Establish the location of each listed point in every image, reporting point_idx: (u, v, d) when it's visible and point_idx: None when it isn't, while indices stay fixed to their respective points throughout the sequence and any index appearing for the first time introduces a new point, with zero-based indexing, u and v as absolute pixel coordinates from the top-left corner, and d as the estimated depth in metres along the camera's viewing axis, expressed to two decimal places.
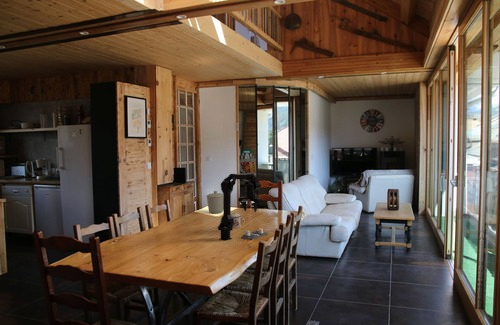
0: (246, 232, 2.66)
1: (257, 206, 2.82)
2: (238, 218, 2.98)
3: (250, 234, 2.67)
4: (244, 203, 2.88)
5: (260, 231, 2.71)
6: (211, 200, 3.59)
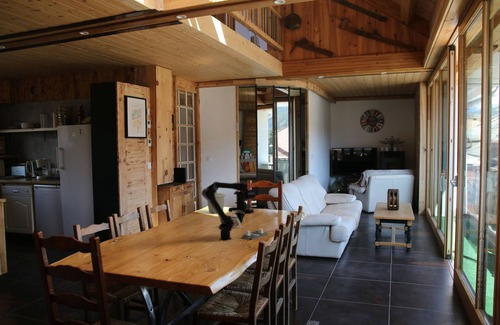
0: (246, 232, 2.66)
1: (243, 216, 2.69)
2: None
3: (250, 234, 2.67)
4: None
5: (260, 231, 2.71)
6: None
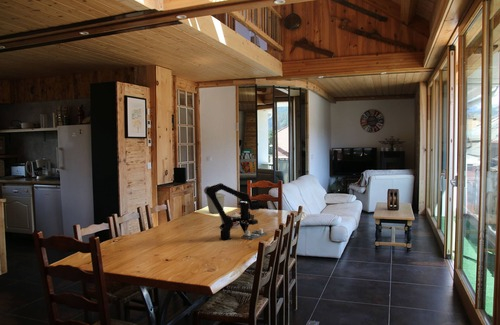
0: (246, 232, 2.66)
1: (247, 227, 2.68)
2: None
3: (250, 234, 2.67)
4: None
5: (260, 231, 2.71)
6: None
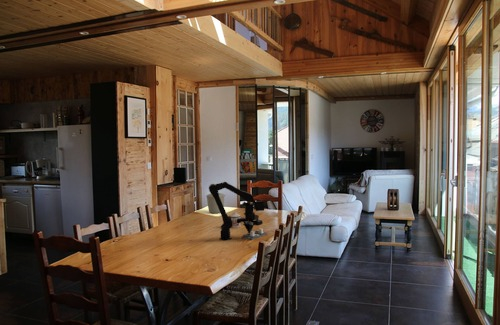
0: (251, 233, 2.63)
1: (252, 227, 2.65)
2: None
3: None
4: None
5: (260, 231, 2.71)
6: (211, 200, 3.59)
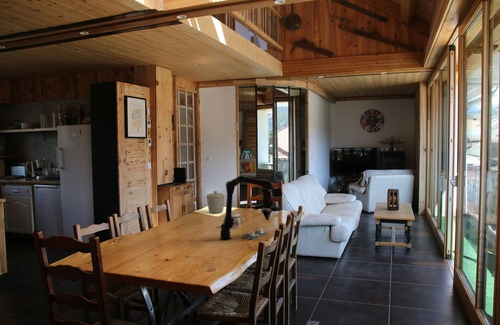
0: (251, 233, 2.63)
1: (269, 214, 2.68)
2: (238, 218, 2.98)
3: None
4: None
5: (260, 231, 2.71)
6: (211, 200, 3.59)
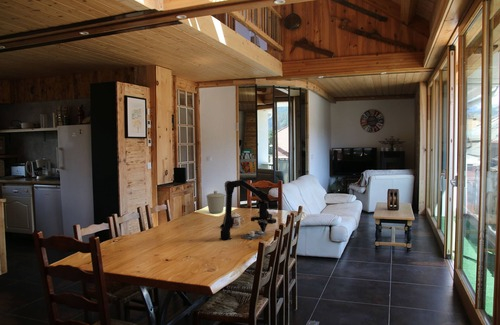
0: (251, 233, 2.63)
1: None
2: (238, 218, 2.98)
3: None
4: None
5: (260, 231, 2.71)
6: (211, 200, 3.59)
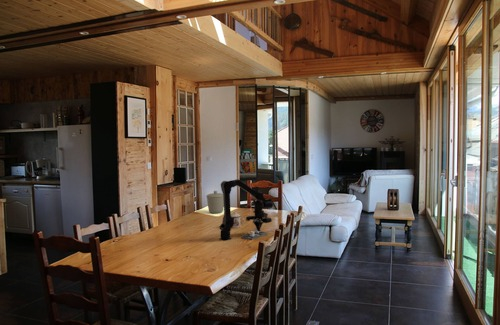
0: (251, 233, 2.63)
1: (261, 225, 2.73)
2: (238, 218, 2.98)
3: None
4: None
5: (255, 230, 2.74)
6: (211, 200, 3.59)
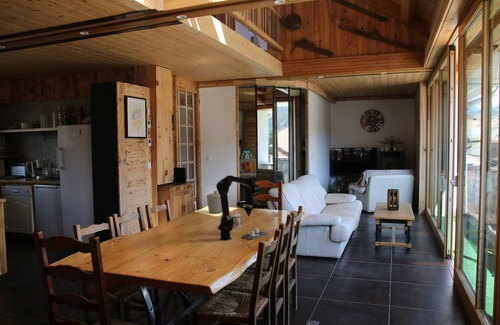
0: (251, 233, 2.63)
1: (251, 210, 2.80)
2: (238, 218, 2.98)
3: None
4: None
5: (255, 230, 2.74)
6: (211, 200, 3.59)
